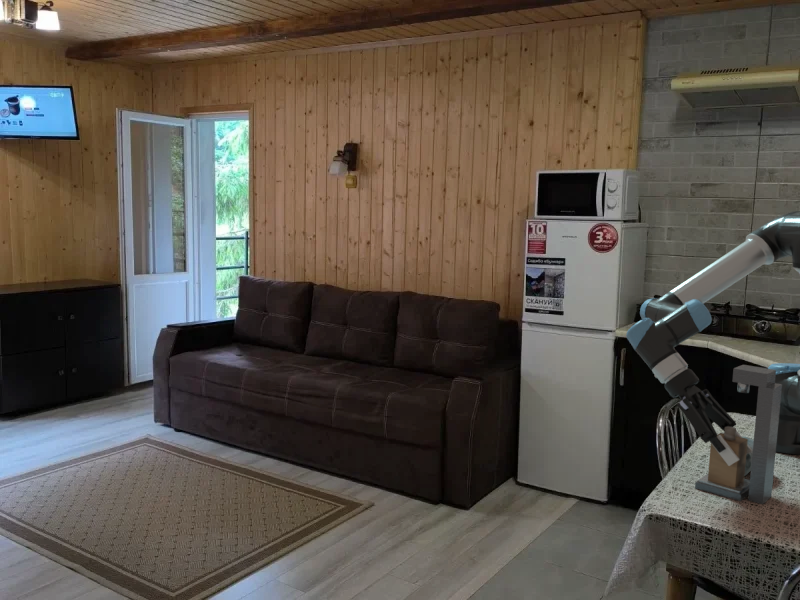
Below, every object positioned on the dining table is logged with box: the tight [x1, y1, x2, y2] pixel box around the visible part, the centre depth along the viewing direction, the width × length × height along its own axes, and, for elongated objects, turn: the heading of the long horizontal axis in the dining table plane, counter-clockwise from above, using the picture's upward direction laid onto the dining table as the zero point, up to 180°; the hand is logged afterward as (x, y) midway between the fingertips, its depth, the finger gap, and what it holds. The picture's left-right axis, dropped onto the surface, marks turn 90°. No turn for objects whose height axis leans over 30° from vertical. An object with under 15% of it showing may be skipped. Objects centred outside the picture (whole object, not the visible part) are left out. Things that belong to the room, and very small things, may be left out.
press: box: [694, 364, 782, 505], centre depth 161 cm, size 10×14×29 cm
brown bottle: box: [707, 426, 748, 488], centre depth 163 cm, size 6×6×12 cm
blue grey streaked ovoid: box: [741, 436, 754, 477], centre depth 175 cm, size 14×10×10 cm
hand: (740, 458), depth 161 cm, fingers open, 8 cm apart
